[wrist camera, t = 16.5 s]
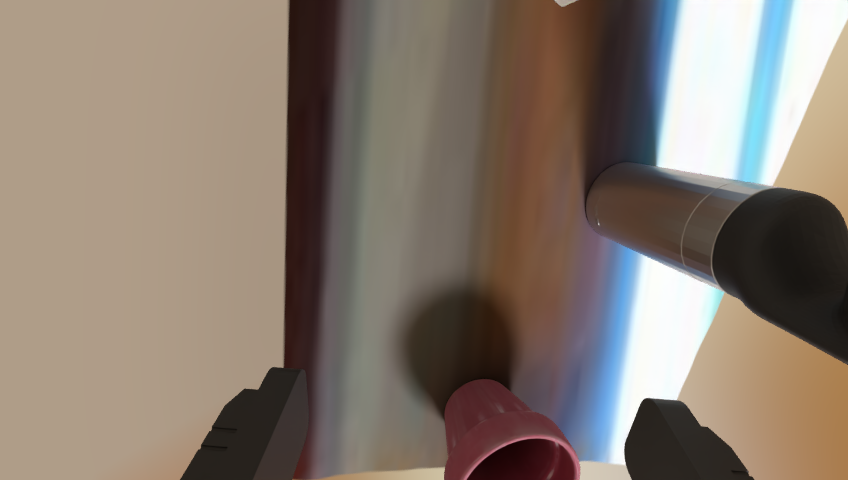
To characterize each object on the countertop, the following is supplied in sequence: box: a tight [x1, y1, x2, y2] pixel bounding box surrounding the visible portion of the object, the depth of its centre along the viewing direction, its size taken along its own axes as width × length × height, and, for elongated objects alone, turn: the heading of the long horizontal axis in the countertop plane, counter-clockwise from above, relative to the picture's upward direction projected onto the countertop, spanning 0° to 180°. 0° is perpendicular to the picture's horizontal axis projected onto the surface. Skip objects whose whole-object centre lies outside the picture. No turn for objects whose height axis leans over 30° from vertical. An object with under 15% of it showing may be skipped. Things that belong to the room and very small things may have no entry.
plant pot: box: [444, 379, 580, 480], centre depth 48 cm, size 14×14×13 cm
